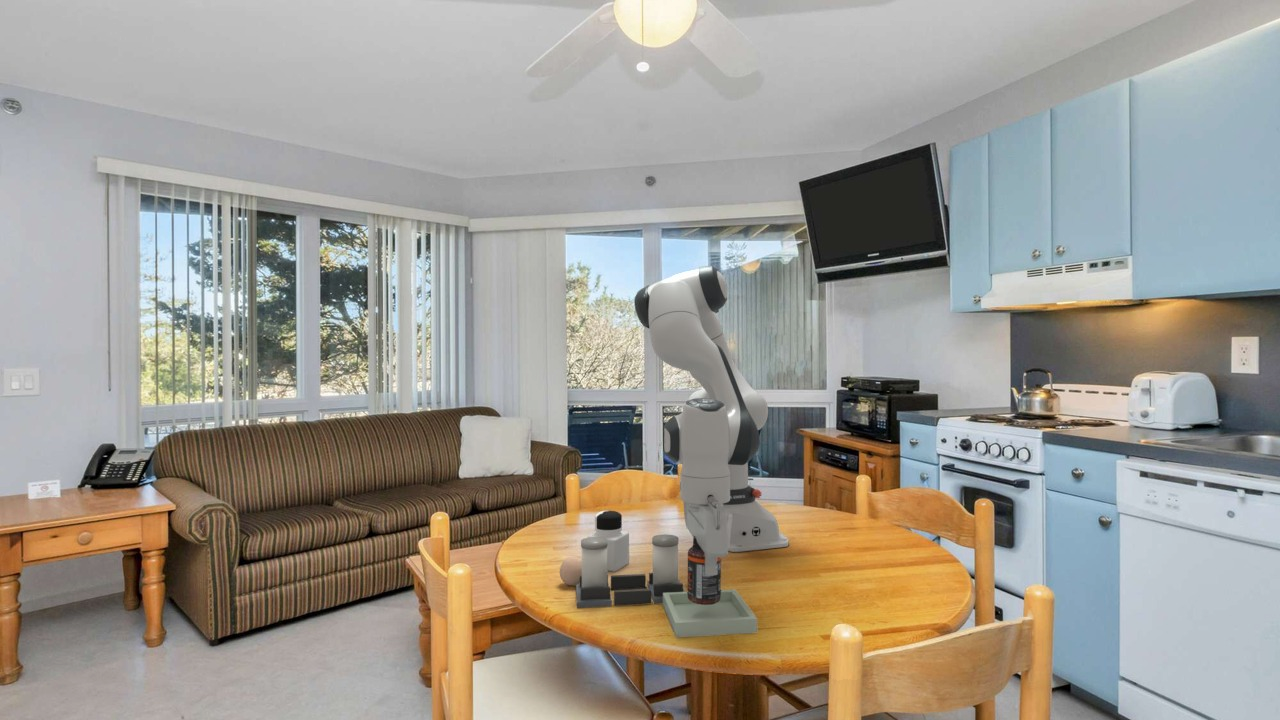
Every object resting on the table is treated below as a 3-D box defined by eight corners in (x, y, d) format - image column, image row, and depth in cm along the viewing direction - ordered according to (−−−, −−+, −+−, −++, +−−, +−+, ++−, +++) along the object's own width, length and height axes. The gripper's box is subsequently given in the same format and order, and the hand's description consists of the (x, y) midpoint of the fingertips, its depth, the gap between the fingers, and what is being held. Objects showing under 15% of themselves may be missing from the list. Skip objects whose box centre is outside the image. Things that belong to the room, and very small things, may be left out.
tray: (735, 601, 122) (735, 589, 122) (757, 632, 108) (757, 618, 108) (662, 605, 120) (662, 592, 120) (675, 637, 106) (675, 622, 106)
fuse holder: (678, 584, 132) (678, 530, 132) (687, 602, 122) (687, 544, 122) (576, 588, 129) (575, 534, 129) (577, 607, 120) (576, 548, 120)
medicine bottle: (629, 563, 146) (629, 510, 146) (615, 572, 139) (615, 517, 140) (602, 559, 149) (601, 507, 149) (586, 568, 142) (586, 514, 143)
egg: (556, 582, 133) (556, 554, 133) (580, 579, 135) (580, 551, 135) (563, 590, 129) (563, 561, 129) (587, 587, 131) (587, 558, 131)
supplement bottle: (684, 594, 117) (685, 532, 117) (717, 593, 117) (717, 531, 118) (689, 606, 111) (690, 541, 111) (723, 605, 111) (724, 540, 112)
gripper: (737, 502, 104) (737, 587, 104) (710, 479, 125) (710, 550, 125) (699, 503, 104) (699, 589, 104) (678, 480, 124) (678, 551, 124)
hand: (705, 567), depth 114 cm, fingers closed on supplement bottle, 6 cm apart
